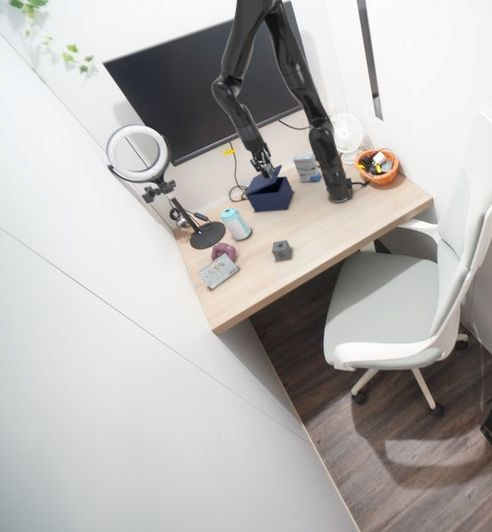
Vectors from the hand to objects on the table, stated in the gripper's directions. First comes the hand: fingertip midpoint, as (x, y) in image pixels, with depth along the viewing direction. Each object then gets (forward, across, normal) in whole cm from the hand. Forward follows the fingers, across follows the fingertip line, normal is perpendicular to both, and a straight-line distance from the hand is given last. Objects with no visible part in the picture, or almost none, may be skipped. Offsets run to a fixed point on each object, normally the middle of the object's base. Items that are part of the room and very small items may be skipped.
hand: (269, 173), depth 133 cm
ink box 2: (+15, +16, -10) cm, 24 cm away
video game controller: (+14, -33, +15) cm, 39 cm away
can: (+14, -20, +12) cm, 28 cm away
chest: (+14, 0, +4) cm, 15 cm away
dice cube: (+15, -34, -9) cm, 38 cm away
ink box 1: (+14, -43, +12) cm, 47 cm away
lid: (+3, 0, +4) cm, 5 cm away
